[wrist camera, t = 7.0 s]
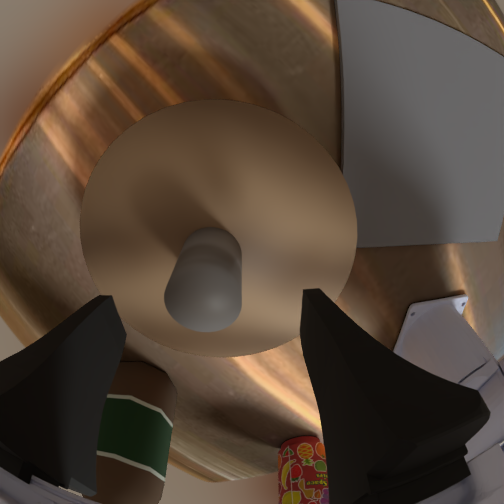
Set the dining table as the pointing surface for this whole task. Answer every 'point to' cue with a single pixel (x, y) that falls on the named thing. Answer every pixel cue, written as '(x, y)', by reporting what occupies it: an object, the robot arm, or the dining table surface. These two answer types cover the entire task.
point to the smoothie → (303, 472)
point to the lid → (217, 226)
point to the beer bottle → (135, 436)
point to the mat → (419, 128)
